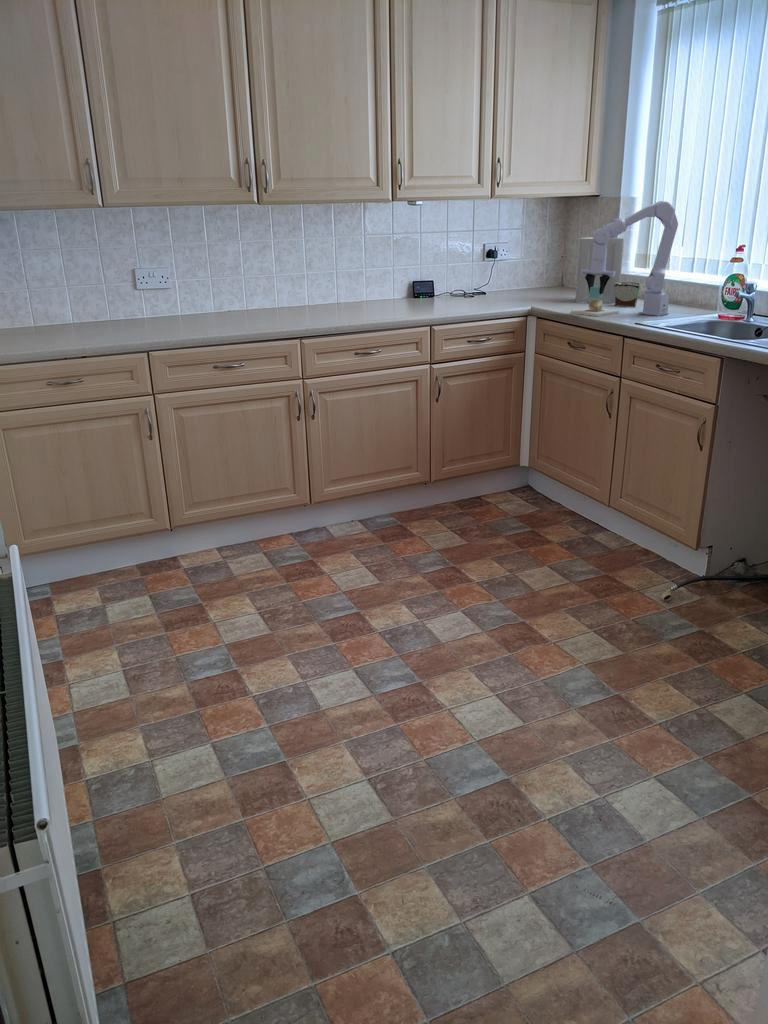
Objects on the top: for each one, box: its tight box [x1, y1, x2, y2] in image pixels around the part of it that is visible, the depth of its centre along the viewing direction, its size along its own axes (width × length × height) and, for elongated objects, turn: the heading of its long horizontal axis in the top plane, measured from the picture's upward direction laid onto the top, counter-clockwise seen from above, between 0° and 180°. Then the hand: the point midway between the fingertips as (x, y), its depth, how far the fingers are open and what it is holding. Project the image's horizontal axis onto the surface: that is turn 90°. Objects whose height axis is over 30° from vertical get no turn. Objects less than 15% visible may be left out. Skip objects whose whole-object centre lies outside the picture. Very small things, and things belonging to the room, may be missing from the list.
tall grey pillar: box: [574, 236, 625, 304], centre depth 383 cm, size 19×15×28 cm
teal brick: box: [589, 286, 603, 298], centre depth 349 cm, size 4×4×4 cm
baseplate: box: [570, 307, 620, 317], centre depth 352 cm, size 14×14×1 cm
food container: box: [614, 281, 642, 308], centre depth 371 cm, size 12×6×10 cm, turn 51°
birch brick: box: [588, 300, 603, 311], centre depth 351 cm, size 4×4×4 cm
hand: (596, 293), depth 349 cm, fingers closed on teal brick, 4 cm apart
